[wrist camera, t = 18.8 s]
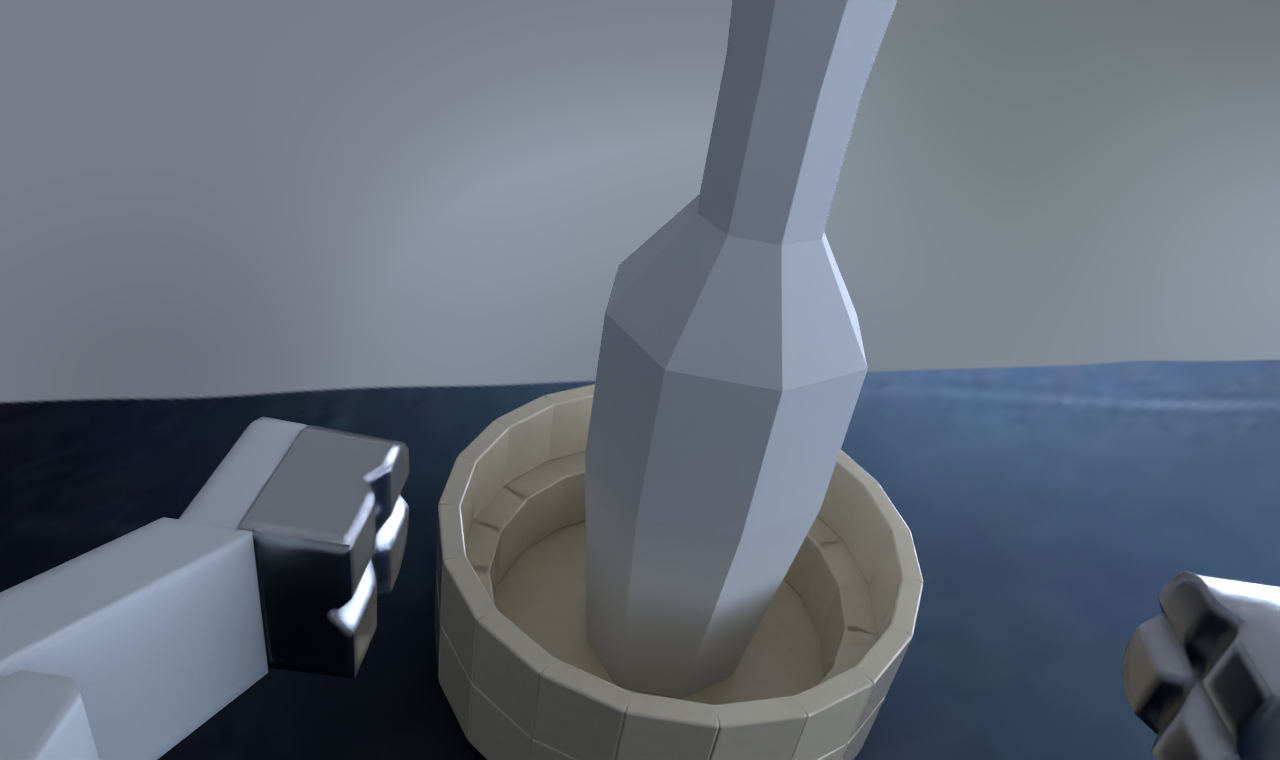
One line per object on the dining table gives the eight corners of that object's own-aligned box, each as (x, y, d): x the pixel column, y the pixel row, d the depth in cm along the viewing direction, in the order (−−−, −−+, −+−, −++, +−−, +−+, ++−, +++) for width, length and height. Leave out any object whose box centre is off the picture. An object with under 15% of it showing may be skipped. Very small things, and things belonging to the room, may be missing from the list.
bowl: (374, 816, 23) (370, 672, 20) (488, 479, 34) (497, 354, 31) (896, 897, 23) (971, 767, 20) (839, 536, 34) (882, 417, 31)
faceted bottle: (794, 712, 26) (1133, -182, 14) (576, 737, 24) (747, -254, 12) (728, 553, 31) (935, -205, 19) (543, 564, 29) (643, -259, 17)
